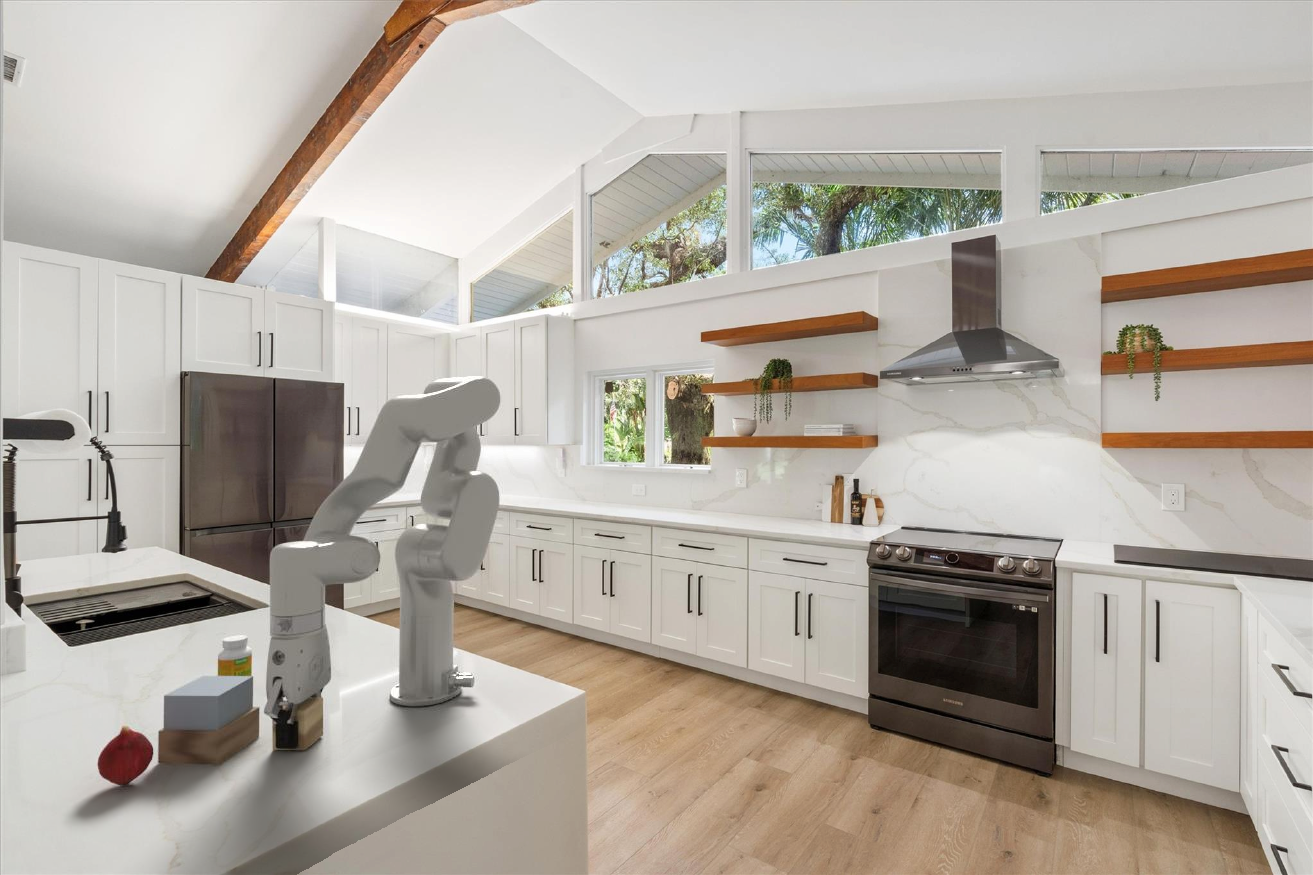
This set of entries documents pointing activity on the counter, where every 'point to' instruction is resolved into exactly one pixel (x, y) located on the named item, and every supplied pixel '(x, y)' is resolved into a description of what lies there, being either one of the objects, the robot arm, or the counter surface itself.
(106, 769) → the onion
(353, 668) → the counter surface
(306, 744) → the oak block
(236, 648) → the supplement bottle
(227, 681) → the grey square block
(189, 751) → the tower base
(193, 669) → the counter surface
